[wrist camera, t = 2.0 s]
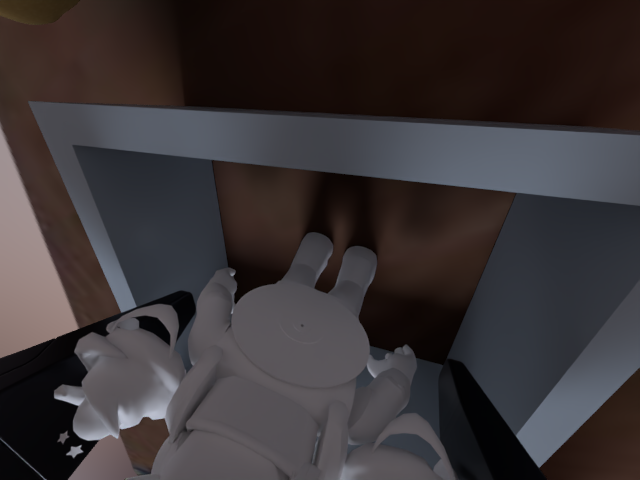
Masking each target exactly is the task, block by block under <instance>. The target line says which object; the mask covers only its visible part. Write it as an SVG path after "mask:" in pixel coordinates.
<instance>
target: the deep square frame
mask: <svg viewBox="0 0 640 480" xmlns="http://www.w3.org/2000/svg"><path fill="white" fill-rule="evenodd" d="M28 103H29V105H30V107H31V109H32V112H33V114H34V116H35V118H36V121H37V123H38V125H39V127H40V130H41V132H42V134H43V136H44V139H45V141H46V143H47V145H48V148H49V150H50V152H51V154H52V157H53V159H54V161H55V163H56V166H57V168H58V170H59V172H60V175H61V177H62V179H63V181H64V184H65V186H66V188H67V190H68V193H69V195H70V197H71V199H72V202H73V204H74V206H75V208H76V211H77V213H78V215H79V217H80V220H81V222H82V224H83V226H84V229H85V231H86V233H87V236H88V238H89V240H90V242H91V245H92V247H93V249H94V251H95V254H96V256H97V258H98V260H99V263H100V265H101V267H102V269H103V272H104V274H105V276H106V278H107V281H108V283H109V285H110V287H111V290H112V292H113V294H114V296H115V299H116V301H117V303H118V305H119V308H120V310H121V312H125V311H127V310H130V309H132V308H135V307H138V306H140V305H143V304H146V303H148V302H151V301H153V300H156V299H159V298H161V297H164V296H166V295H169V294H172V293H174V292H177V291H180V290H184V291H188V292H191V293H192V294H193V298H194V301H195V305H196V308H197V300H198V298H199V296H200V294H201V292H202V291H203V289H204V288H205V287H206V285H207V284H208V283H209V281H210V279H211V278H212V277H213V276H214V274H215V272H216V271H217V270H220V269H224V268H228V262H227V256H226V250H225V243H224V237H223V231H222V224H221V218H220V212H219V205H218V199H217V193H216V186H215V180H214V173H213V167H212V161H211V160H219V161H228V162H238V163H247V164H256V165H266V166H275V167H284V168H293V169H303V170H312V171H321V172H331V173H340V174H349V175H358V176H368V177H377V178H386V179H396V180H405V181H414V182H423V183H433V184H442V185H451V186H460V187H470V188H479V189H488V190H498V191H507V192H516V193H517V194H516V196H515V198H514V201H513V203H512V205H511V208H510V210H509V213H508V215H507V217H506V220H505V222H504V224H503V227H502V229H501V231H500V234H499V236H498V238H497V241H496V243H495V246H494V248H493V250H492V253H491V255H490V257H489V260H488V262H487V264H486V267H485V269H484V272H483V274H482V276H481V279H480V281H479V283H478V286H477V288H476V290H475V293H474V295H473V297H472V300H471V302H470V305H469V307H468V309H467V312H466V314H465V316H464V319H463V321H462V323H461V326H460V328H459V330H458V333H457V335H456V338H455V340H454V342H453V345H452V347H451V349H450V352H449V354H448V356H447V358H450V359H454V360H458V361H461V362H462V363H464V365H465V366H466V367H467V369H468V370H469V372H470V373H471V374H472V376H473V377H474V378H475V380H476V381H477V383H478V384H479V385H480V387H481V388H482V390H483V391H484V392H485V394H486V395H487V397H488V398H489V399H490V401H491V402H492V403H493V405H494V406H495V408H496V409H497V410H498V412H499V413H500V415H501V416H502V417H503V419H504V420H505V422H506V423H507V424H508V426H509V427H510V428H511V430H512V431H513V433H514V434H515V435H516V437H517V438H518V440H519V441H520V442H521V444H522V445H523V447H524V448H525V449H526V451H527V452H528V453H529V455H530V456H531V458H532V459H533V460H534V462H535V463H536V465H537V466H538V467H539V468H540V467H541V466H542V465H543V464H544V463H545V462H546V461H547V460H548V459H549V457H550V456H551V455H552V454H553V453H554V452H555V451H556V450H557V449H558V448H559V447H560V446H561V445H562V444H563V443H564V442H565V441H566V440H567V439H568V438H569V437H570V436H571V435H572V434H573V433H574V432H575V431H576V430H577V429H578V428H579V427H580V426H581V425H582V424H583V423H584V422H585V421H586V420H587V419H588V418H589V417H590V416H591V415H592V414H593V413H594V412H595V411H596V410H597V409H598V408H599V407H600V406H601V405H602V404H603V403H604V402H605V401H606V400H607V399H608V398H609V397H610V396H611V395H612V394H613V393H614V392H615V391H616V390H617V389H618V388H619V387H620V386H621V385H622V384H623V383H624V382H625V381H626V380H627V379H628V378H629V377H630V376H631V375H632V374H633V373H634V372H635V371H636V370H637V369H638V368H639V367H640V131H637V130H624V129H611V128H598V127H585V126H566V125H547V124H527V123H508V122H488V121H469V120H449V119H430V118H410V117H391V116H371V115H352V114H332V113H312V112H293V111H273V110H254V109H234V108H215V107H195V106H170V105H137V104H103V103H70V102H36V101H28ZM196 315H197V309H196V313H195V315H194V316H193V318H192V319H191V321H190V322H189V324H188V325H187V327H186V328H185V330H184V331H183V333H182V334H181V336H180V337H179V339H178V340H177V342H176V344H175V347H174V350H175V351H176V352H178V353H179V354H180V356H181V358H182V361H183V364H184V368H185V370H186V374H187V373H188V371H189V370H190V369H191V368H192V367H193V365H192V364H191V361H190V357H189V351H188V337H189V334H190V331H191V329H192V326H193V323H194V321H195V318H196ZM231 320H232V314H231V319H230V323H231ZM231 326H232V323H231ZM387 353H392V355H393V354H395V353H394V352H391V351H387V350H384V349H380V348H376V347H372V346H370V354H369V355H372V357H373V358H374V359H375V360H378V361H379V360H383V359H385V355H386V354H387ZM416 362H417V369H416V371H415V373H414V375H413V379H412V383H411V386H410V398H409V402H408V404H407V406H406V407H405V408H404V409H403V410H401V412H400V413H399V414H398V415H397V416H396V418H397V417H399V416H401V415H402V414H407V413H417V414H418V415H419V416H421V417H422V418H423V419H425V420H426V421H427V422H429V424H430V426H431V427H432V429H433V430H434V432H435V434H436V435H437V437H438V438H439V440H440V430H439V394H438V379H439V374H440V372H441V369H442V367H443V365H441V364H437V363H433V362H429V361H425V360H422V359H418V358H416ZM373 379H374V377H373V376H372V375H371V373H370V372H369V371H368V368H367V365H366V366H365V368H364V370H363V371H362V372H361V373H360V374H359V375H358V376H357V377H356V388H355V389H358V388H360V387H367V386H368V385H369V384H370V383H371V382H372V381H373ZM396 418H395V419H396ZM318 438H319V437H317V439H318ZM317 439H316V441H317ZM375 442H376V441H375ZM375 442H372V443H375ZM380 444H381V445H387V446H392V447H396V448H400V449H405V450H408V451H410V452H412V453H414V454H416V455H418V456H420V457H422V458H424V459H425V460H426V461H427V463H428V464H429V466H430V467H431V469H432V470H433V469H434V466H435V465H436V464H437V462H438V461H439V460H440V459H441V457H440V456H439V455H438V454H437V452H436V451H435V450H434V448H433V447H432V446H431V444H430V443H428V442H427V441H426V440H424V439H423V438H421V437H420V436H419V435H417V434H408V433H401V434H392V435H389V436H388V437H387V438H386V439H385V440H383V441H382V442H381V443H380ZM362 445H364V444H362ZM362 445H350V444H348V449H347V455H348V454H349V453H350V452H351V451H353V450H354V449H356V448H358V447H360V446H362Z"/></svg>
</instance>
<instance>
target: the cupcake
mask: <svg viewBox="0 0 640 480" xmlns="http://www.w3.org/2000/svg"><path fill="white" fill-rule="evenodd" d="M79 1H80V0H0V15H1V16H3V17H6V18H9V19H12V20H15V21H18V22H22V23H26V24H34V25H40V24H48V23H53V22H55V21H56V20H58V19H59V18H60V17H61V16H62V15H63V14H64V13H65V12H67V11H68V10H70V9H71V8H72V7H74V6H75V5H76V4H77V3H78V2H79Z"/></svg>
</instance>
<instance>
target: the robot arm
mask: <svg viewBox="0 0 640 480" xmlns="http://www.w3.org/2000/svg"><path fill="white" fill-rule="evenodd" d="M156 304H164V305H170V306H172V307H173V309H174V310H175V311H176V313H177V317H178V323H179V329H178V334H177V339H176V342H177V340H178V339H179V337H180V336H181V334H182V333H183V331H184V330H185V328H186V327H187V325H188V324H189V322H190V321H191V319H192V318H193V316H194V315H195V313H196V305H195V301H194V298H193V294H192V293H191V292H188V291H184V290H180V291H177V292H174V293H172V294H169V295H166V296H164V297H161V298H159V299H156V300H153V301H151V302H148V303H146V304H143V305H140V306H138V307H135V308H132V309H130V310H127V311H125V312H122V313H119V314H117V315H114V316H112V317H109V318H106V319H104V320H101V321H98V322H96V323H93V324H91V325H88V326H85V327H83V328H80V329H78V330H75V331H72V332H70V333H67V334H64V335H62V336H59V337H57V338H56V339H51V340H49V341H46V342H43V343H41V344H38V345H36V346H33V347H31V348H28V349H25V350H22V351H19V352H17V353H14V354H11V355H8V356H5V357H2V358H0V480H68V478H69V477H70V476H71V475H72V474H73V472H74V471H75V470H76V468H77V467H78V466H79V465H80V464H81V462H82V461H83V460H84V458H85V457H86V456H87V455H88V453H89V452H90V451H91V450H92V449H93V447H94V446H95V445H96V444H97V442H98V441H99V440H90V441H87V440H85V439H82V438H80V437H79V436H78V435H77V434H76V433H75V432H74V431H73V419H74V416H75V414H76V411H77V409H78V405H74V404H72V403H69V402H66V401H62V400H59V399H56V398H54V390H56V389H57V388H58V387H60V386H61V385H62V384H64V385H69V386H77V387H82V381H83V379H84V378H85V376H86V375H87V373H88V371H87V369H86V367H85V366H84V364H83V363H82V361H81V360H80V358H79V357H78V356H77V354H76V353H75V352H74V351H75V348H76V346H77V343H78V341H79V339H81V338H83V337H84V336H86V335H88V334H90V333H91V332H93V333H96V334H98V335H101V336H103V337H106V336H107V335H109V334H110V333H109V332H108V331H107V330H106V328H107V325H108V324H109V323H111V322H113V321H116V320H118V319H119V318H121V317H122V316H123V315H126V314H128V313H130V312H132V311H134V310H136V309H139V308H143V307H147V306H152V305H156ZM132 318H136V319H137V320H138V321H139V328H141V329H144V330H146V331H149V332H151V333H153V334H155V335H156V336H158V337H159V338H160V339H162V340H163V341H164V342H165V343H167V344H168V345H169V346H170V337H171V335H170V333H169V331H168V330H167V328H166V327H165V325H164V324H163V323H162V322H161V321H160V320H159V319H158V318H157V317H152V316H146V315H144V316H138V317H132ZM117 327H118V326H117ZM118 328H120V327H118ZM438 394H439V430H440V441H441V443H442V445H443V446H444V448H445V451H446V453H447V456H448V458H449V461H450V464H451V466H452V468H453V470H454V471H455V472H456V474H457V476H458V479H459V480H547V478H546V477H545V476H544V474H543V473H542V472H541V470H540V469H539V467H538V466H537V465H536V463H535V462H534V460H533V459H532V458H531V456H530V455H529V453H528V452H527V451H526V449H525V448H524V447H523V445H522V444H521V442H520V441H519V440H518V438H517V437H516V435H515V434H514V433H513V431H512V430H511V428H510V427H509V426H508V424H507V423H506V422H505V420H504V419H503V417H502V416H501V415H500V413H499V412H498V410H497V409H496V408H495V406H494V405H493V403H492V402H491V401H490V399H489V398H488V397H487V395H486V394H485V392H484V391H483V390H482V388H481V387H480V385H479V384H478V383H477V381H476V380H475V378H474V377H473V376H472V374H471V373H470V372H469V370H468V369H467V367H466V366H465V365H464V363H462V362H461V361H458V360H454V359H450V358H447V359H446V360H445V362H444V365H443V367H442V369H441V372H440V374H439V379H438ZM66 431H67V435H68V436H69V437H68V438H67V439H65V441H64V443H62V442H61V441H59V442H57V441H58V440H59V439H60V434H64V433H65V432H66ZM80 445H82V446H81V448H80V449H81V450H82V451H83V452H82V453H79V454H77V455H76V456H75V457H74V458H73V457H72V455H66V454H67V453H69V452H70V451H71V447H78V446H80Z"/></svg>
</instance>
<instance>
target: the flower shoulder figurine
mask: <svg viewBox="0 0 640 480" xmlns="http://www.w3.org/2000/svg"><path fill="white" fill-rule="evenodd" d="M332 253H333V244H332V242H331V241H330V239H329V238H328V237H326V236H325V235H323V234H320V233H316V232H310V233H307V234H306V236H305V237H304V238H303V239H302V241H301V244H300V246H299V249H298V251H297V253H296V255H295V257H294V259H293V262H292V264H291V267H290V269H289V270H288V272H287V273H286V274H285V276H284V277H283V279H282V280H281V281H278V282H277V283H276V284H271V285H265V286H261V287H258V288H255V289H253V290H251V291H249V292H248V293H246V294H245V295H244V296H243V297H242V298H241V299H240V300H239V301H238V302H237V304H235V302H234V298H235V295H234V293H235V292H236V290H237V283H236V281H235V279H234V276H233V275H235V273H236V271H235V270H234V269H232V268H224V269H220V270H217V271H216V272H215V274H214V276H213V277H212V278H211V279H210V281H209V283H208V284H207V285H206V287H205V288H204V289H203V291H202V292H201V294H200V296H199V298H198V300H197V308H196V309H197V315H196V318H195V321H194V323H193V326H192V329H191V331H190V334H189V337H188V351H189V357H190V361H191V364H192V365H193V367H192V368H191V369H190V370H189V371H188V373H187V374H186V370H185V368H184V364H183V361H182V358H181V356H180V354H179V353H178V352H176V351H175V350H174V347H175V344H176V339H177V334H178V329H179V323H178V317H177V313H176V311H175V310H174V309H173V307H172V306H170V305H164V304H156V305H152V306H147V307H143V308H139V309H136V310H134V311H132V312H130V313H128V314H126V315H123V316H122V317H121V318H119V319H118V320H116V321H113V322H111V323H109V324H108V325H107V328H106V330H107V331H108V332H109V333H110V334H109V335H107V336H106V337H103V336H101V335H98V334H96V333H93V332H91V333H90V334H88V335H86V336H84V337H83V338H81V339H79V341H78V343H77V346H76V348H75V351H74V352H75V353H76V354H77V356H78V357H79V358H80V360H81V361H82V363H83V364H84V366H85V367H86V369H87V371H88V373H87V375H86V376H85V378H84V379H83V381H82V387H77V386H69V385H64V384H62V385H61V386H60V387H58V388H57V389H56V390H54V398H56V399H59V400H62V401H66V402H69V403H72V404H74V405H78V409H77V411H76V414H75V416H74V419H73V431H74V432H75V433H76V434H77V435H78V436H79V437H80V438H82V439H85V440H87V441H90V440H100V439H102V438H104V437H106V436H108V435H110V434H111V435H112V436H114V437H116V438H118V436H119V431H120V429H119V428H121V429H125V428H129V427H132V426H135V425H137V424H138V423H139V422H140V421H141V419H142V418H143V417H150V418H151V419H153V420H155V419H162V418H165V420H166V424H167V427H168V430H169V434H170V436H169V437H168V438H167V439H166V440H165V442H164V443H163V445H162V447H161V448H160V450H159V451H158V454H157V456H156V458H155V461H154V463H153V467H152V471H151V474H149V475H141V476H136V477H132V478H126V479H124V480H459V479H458V476H457V474H456V472H455V471H454V470H453V468H452V466H451V464H450V461H449V458H448V456H447V453H446V451H445V448H444V446H443V445H442V443H441V441H440V440H439V438H438V437H437V435H436V434H435V432H434V430H433V429H432V427H431V426H430V424H429V422H427V421H426V420H425V419H423V418H422V417H421V416H419V415H418V414H417V413H407V414H402V415H401V416H399V417H397V418H396V416H397V415H398V414H399V413H400V412H401V410H403V409H404V408H405V407H406V406H407V404H408V402H409V398H410V386H411V383H412V379H413V375H414V373H415V371H416V369H417V362H416V358H415V354H414V352H413V350H412V349H411V348H410V347H409V346H408V345H404V346H403V348H401V347H399V348H396V349H395V350H394V353H395V354H393V355H392V353H387V354H386V355H385V359H383V360H379V361H378V360H375V359H374V358H373V357H372V355H369V354H370V346H369V340H368V337H367V334H366V332H365V330H364V328H363V326H362V325H361V323H360V322H359V317H358V316H359V313H360V310H361V307H362V303H363V299H364V296H365V293H366V291H367V288H368V286H369V285H370V284H371V282H372V280H373V278H374V275H375V271H376V266H377V256H376V255H375V253H374V252H373V251H372V250H370V249H368V248H365V247H361V246H353V247H350V248H348V249H347V250H346V252H345V254H344V256H343V261H342V266H341V268H340V271H339V275H338V278H337V282H336V285H335V287H334V288H333V289H332V290H331V291H330V292H329V293H328V294H327V293H324V292H321V291H318V290H316V289H314V288H315V284H316V281H317V279H318V278H319V276H320V274H321V273H322V271H323V270H324V269H325V267H326V266H327V264H328V259H329V257H330V256H331V255H332ZM231 314H232V320H231V323H232V326H231V323H230V319H231ZM144 315H146V316H152V317H157V318H158V319H159V320H160V321H161V322H162V323H163V324H164V325H165V327H166V328H167V330H168V331H169V333H170V335H171V337H170V346H169V345H168V344H167V343H165V342H164V341H163V340H162V339H160V338H159V337H158V336H156V335H155V334H153V333H151V332H149V331H146V330H144V329H141V328H139V321H138V320H137V319H136V318H132V317H138V316H144ZM117 326H118V327H120V328H118V327H117ZM366 365H367V368H368V371H369V372H370V373H371V375H372V376H373V377H374V379H373V381H372V382H371V383H370V384H369V385H368V386H367V387H360V388H358V389H355V388H356V377H357V376H358V375H359V374H360V373H361V372H362V371H363V370H364V368H365V366H366ZM395 418H396V419H395ZM401 433H408V434H417V435H419V436H420V437H421V438H423V439H424V440H426V441H427V442H428V443H430V444H431V446H432V447H433V448H434V450H435V451H436V452H437V454H438V455H439V456H440V457H441V459H440V460H439V461H438V462H437V464H436V465H435V466H434V469H433V470H432V469H431V467H430V466H429V464H428V463H427V461H426V460H425V459H424V458H422V457H420V456H418V455H416V454H414V453H412V452H410V451H408V450H405V449H400V448H396V447H392V446H387V445H381V444H380V443H381V442H382V441H383V440H385V439H386V438H387V437H388V436H389V435H392V434H401ZM68 437H69V436H68V435H67V431H66V432H65V433H64V434H60V439H59V440H58V441H57V442H59V441H61V442H62V443H64V441H65V439H67V438H68ZM317 437H319V438H318V439H317ZM316 439H317V441H316ZM375 441H376V442H375ZM372 442H375V443H372ZM348 444H350V445H362V444H364V445H362V446H360V447H358V448H356V449H354V450H353V451H351V452H350V453H349V454H348V455H347V449H348ZM81 446H82V445H80V446H78V447H71V451H70V452H69V453H67V454H66V455H72V457H73V458H74V457H75V456H76V455H77V454H79V453H82V452H83V451H82V450H81V449H80V448H81Z"/></svg>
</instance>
